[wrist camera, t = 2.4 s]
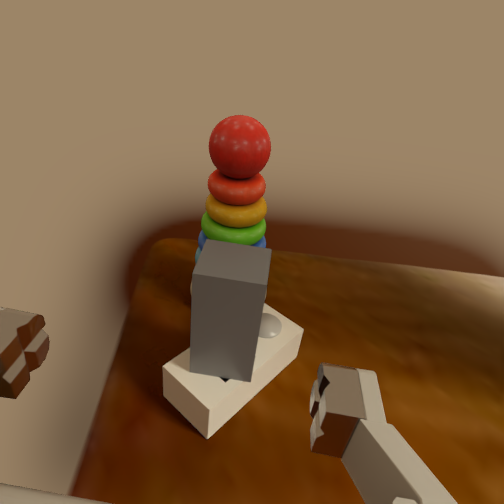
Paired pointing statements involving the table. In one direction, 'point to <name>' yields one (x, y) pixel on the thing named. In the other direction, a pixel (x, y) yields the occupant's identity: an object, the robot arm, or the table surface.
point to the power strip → (233, 391)
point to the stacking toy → (236, 184)
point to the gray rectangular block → (227, 309)
